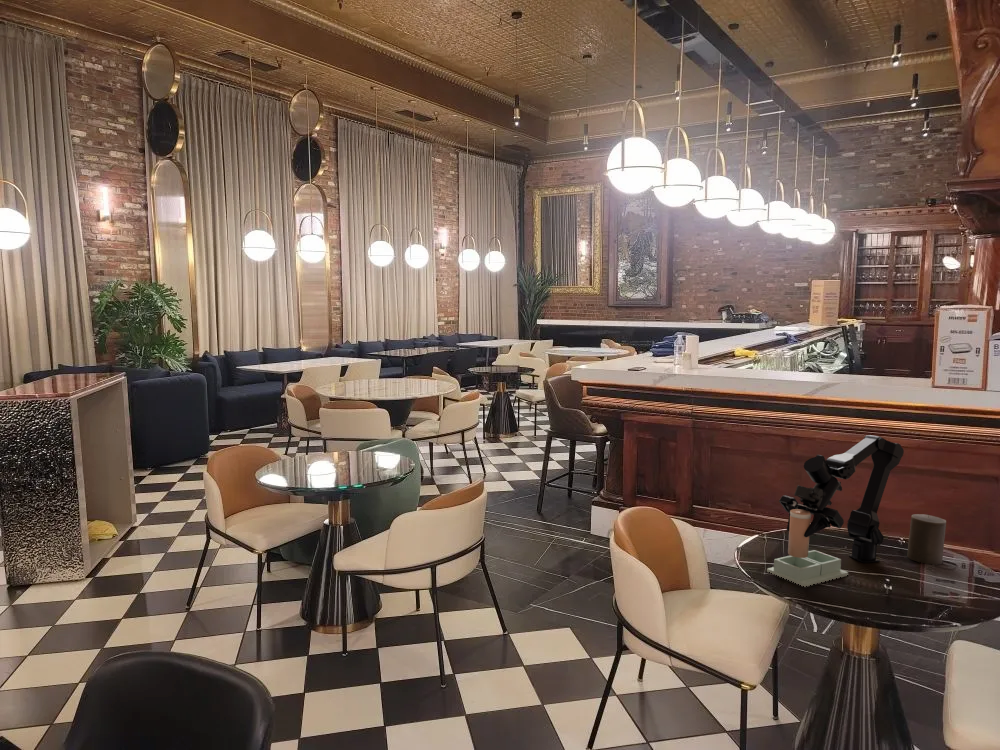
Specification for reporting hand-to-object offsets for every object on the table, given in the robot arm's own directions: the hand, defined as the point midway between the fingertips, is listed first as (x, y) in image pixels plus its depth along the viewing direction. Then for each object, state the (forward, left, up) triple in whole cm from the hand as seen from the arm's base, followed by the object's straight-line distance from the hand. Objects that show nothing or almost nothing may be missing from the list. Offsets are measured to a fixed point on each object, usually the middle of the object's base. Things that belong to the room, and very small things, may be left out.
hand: (796, 533), depth 204 cm
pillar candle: (-53, -5, -14) cm, 55 cm away
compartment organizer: (-6, -2, -13) cm, 15 cm away
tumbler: (-1, 0, -7) cm, 7 cm away
